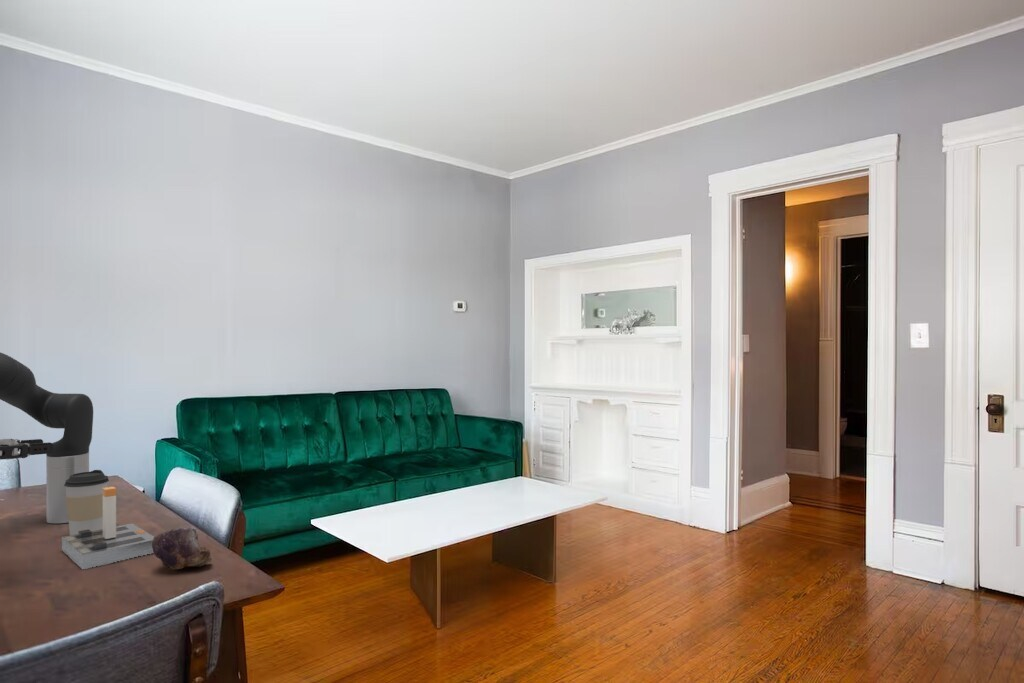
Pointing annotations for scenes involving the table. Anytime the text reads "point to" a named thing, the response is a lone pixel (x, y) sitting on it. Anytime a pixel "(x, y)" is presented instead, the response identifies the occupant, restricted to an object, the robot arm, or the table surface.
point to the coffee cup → (85, 500)
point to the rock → (180, 549)
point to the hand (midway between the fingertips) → (47, 445)
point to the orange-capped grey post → (109, 512)
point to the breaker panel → (107, 546)
